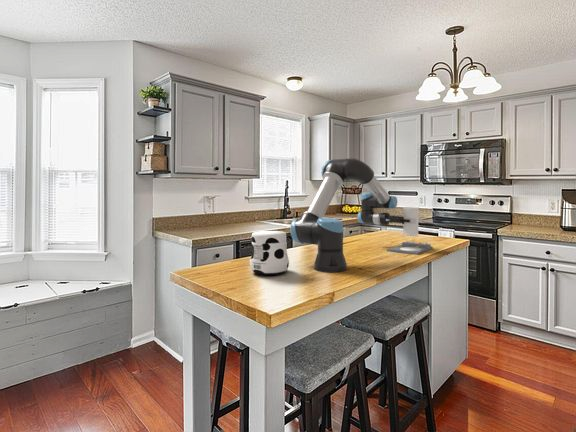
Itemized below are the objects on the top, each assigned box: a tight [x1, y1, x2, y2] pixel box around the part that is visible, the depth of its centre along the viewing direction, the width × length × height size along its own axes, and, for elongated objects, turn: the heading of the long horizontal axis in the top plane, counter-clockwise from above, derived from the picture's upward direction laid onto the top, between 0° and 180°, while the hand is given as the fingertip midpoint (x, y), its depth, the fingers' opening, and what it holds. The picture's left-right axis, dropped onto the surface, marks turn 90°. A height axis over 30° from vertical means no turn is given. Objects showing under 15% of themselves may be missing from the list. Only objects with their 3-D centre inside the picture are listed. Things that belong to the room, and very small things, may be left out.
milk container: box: [249, 230, 290, 276], centre depth 157 cm, size 17×17×18 cm
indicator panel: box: [386, 240, 434, 256], centre depth 207 cm, size 24×18×4 cm
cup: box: [402, 206, 420, 237], centre depth 202 cm, size 8×8×16 cm
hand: (419, 220), depth 199 cm, fingers closed on cup, 8 cm apart
